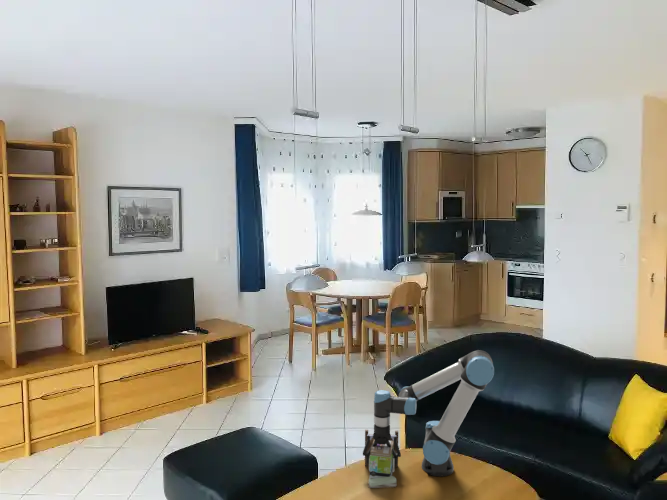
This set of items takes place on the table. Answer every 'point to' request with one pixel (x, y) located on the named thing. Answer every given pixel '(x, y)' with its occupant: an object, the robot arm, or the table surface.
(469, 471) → the table surface
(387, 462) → the tea box
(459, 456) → the table surface
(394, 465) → the rack
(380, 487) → the pinkish brown bar
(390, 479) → the sage painted offcut
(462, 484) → the table surface
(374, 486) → the grey board offcut
